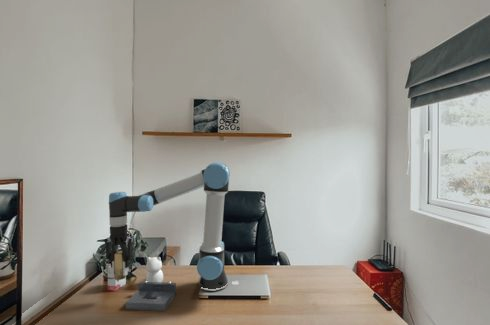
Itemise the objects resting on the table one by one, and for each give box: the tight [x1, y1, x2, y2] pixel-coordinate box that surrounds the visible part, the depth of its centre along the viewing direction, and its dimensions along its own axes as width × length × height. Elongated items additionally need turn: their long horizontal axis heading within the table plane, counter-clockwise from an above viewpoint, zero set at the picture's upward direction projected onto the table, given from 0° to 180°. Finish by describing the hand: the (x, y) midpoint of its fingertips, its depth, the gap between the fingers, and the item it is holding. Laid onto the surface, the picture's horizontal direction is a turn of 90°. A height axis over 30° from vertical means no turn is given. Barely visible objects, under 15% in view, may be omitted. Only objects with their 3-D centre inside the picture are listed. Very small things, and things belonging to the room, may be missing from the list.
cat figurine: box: [145, 256, 164, 282], centre depth 145 cm, size 9×12×15 cm
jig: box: [124, 279, 177, 312], centre depth 125 cm, size 18×14×7 cm
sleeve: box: [114, 250, 127, 280], centre depth 127 cm, size 5×5×12 cm
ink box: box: [107, 265, 127, 292], centre depth 141 cm, size 9×5×12 cm, turn 168°
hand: (120, 274), depth 127 cm, fingers closed on sleeve, 5 cm apart
